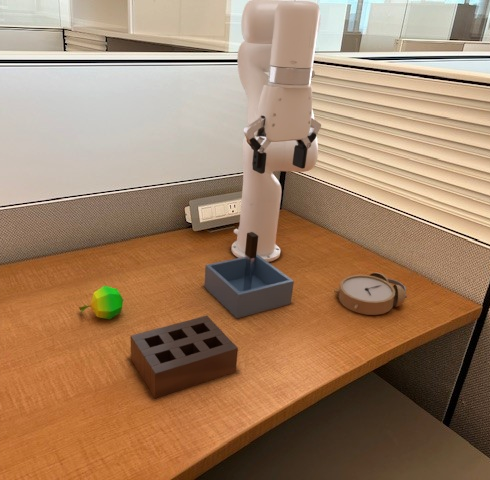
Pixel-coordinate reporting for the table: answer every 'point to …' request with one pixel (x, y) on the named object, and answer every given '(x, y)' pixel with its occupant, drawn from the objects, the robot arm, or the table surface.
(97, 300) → the apple
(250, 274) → the knife
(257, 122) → the robot arm
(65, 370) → the table surface
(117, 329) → the table surface
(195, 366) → the block
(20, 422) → the table surface
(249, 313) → the bin
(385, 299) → the alarm clock
